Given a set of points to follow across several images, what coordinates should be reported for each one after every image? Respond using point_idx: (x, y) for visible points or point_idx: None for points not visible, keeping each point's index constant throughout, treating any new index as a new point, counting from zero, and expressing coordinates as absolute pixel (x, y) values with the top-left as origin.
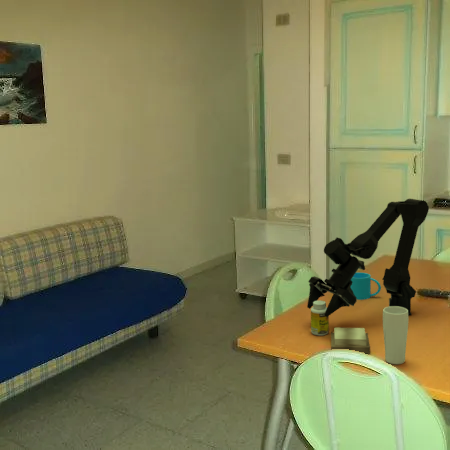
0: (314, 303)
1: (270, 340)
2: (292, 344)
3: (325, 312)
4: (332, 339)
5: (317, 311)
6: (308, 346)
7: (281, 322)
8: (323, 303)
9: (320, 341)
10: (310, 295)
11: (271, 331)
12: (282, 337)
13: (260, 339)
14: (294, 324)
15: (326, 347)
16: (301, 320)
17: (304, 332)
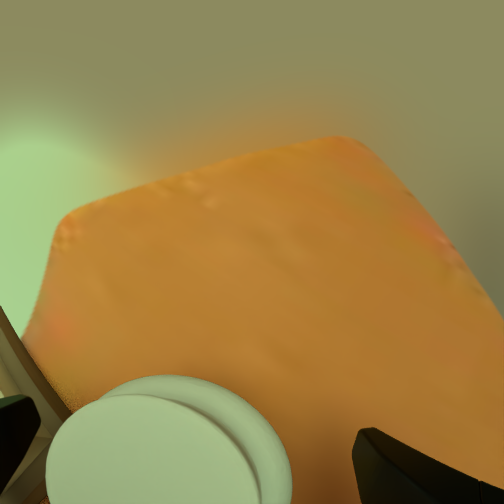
0: (148, 400)
1: (282, 186)
2: (176, 233)
3: (9, 401)
4: (13, 361)
5: (107, 393)
6: (104, 277)
7: (473, 344)
8: (58, 495)
9: (105, 368)
10: (465, 500)
11: (384, 241)
12: (284, 241)
13: (315, 165)
14: (424, 397)
15: (41, 334)
16: (454, 460)
17: (279, 384)
